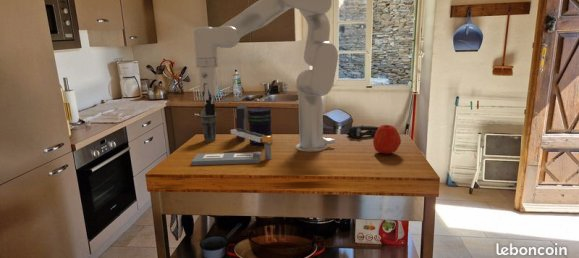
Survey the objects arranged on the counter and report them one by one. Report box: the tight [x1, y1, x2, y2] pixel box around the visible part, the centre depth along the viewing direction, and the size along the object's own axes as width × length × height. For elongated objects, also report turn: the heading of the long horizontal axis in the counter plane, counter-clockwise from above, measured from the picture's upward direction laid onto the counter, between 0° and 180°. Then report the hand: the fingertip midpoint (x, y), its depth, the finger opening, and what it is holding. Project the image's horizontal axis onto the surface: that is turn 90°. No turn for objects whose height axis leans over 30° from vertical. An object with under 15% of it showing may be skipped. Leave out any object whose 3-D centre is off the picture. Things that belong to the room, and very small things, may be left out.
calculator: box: [235, 104, 248, 142], centre depth 176 cm, size 11×4×15 cm, turn 0°
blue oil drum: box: [247, 107, 273, 148], centre depth 166 cm, size 10×10×15 cm
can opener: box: [346, 124, 380, 139], centre depth 175 cm, size 18×7×6 cm, turn 100°
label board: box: [191, 143, 272, 166], centre depth 144 cm, size 28×10×6 cm, turn 91°
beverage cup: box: [199, 107, 218, 143], centre depth 172 cm, size 7×7×20 cm
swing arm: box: [230, 128, 273, 144], centre depth 152 cm, size 26×4×2 cm, turn 37°
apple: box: [372, 124, 402, 154], centre depth 149 cm, size 10×10×10 cm
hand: (210, 114), depth 141 cm, fingers closed
